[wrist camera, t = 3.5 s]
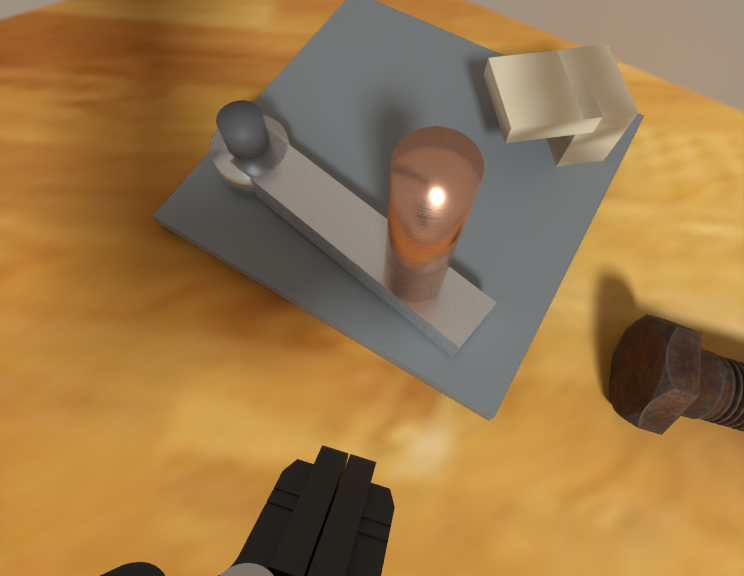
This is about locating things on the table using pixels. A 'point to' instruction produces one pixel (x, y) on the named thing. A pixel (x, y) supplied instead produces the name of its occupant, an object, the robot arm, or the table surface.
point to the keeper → (562, 101)
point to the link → (382, 222)
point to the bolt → (673, 378)
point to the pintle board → (371, 184)
